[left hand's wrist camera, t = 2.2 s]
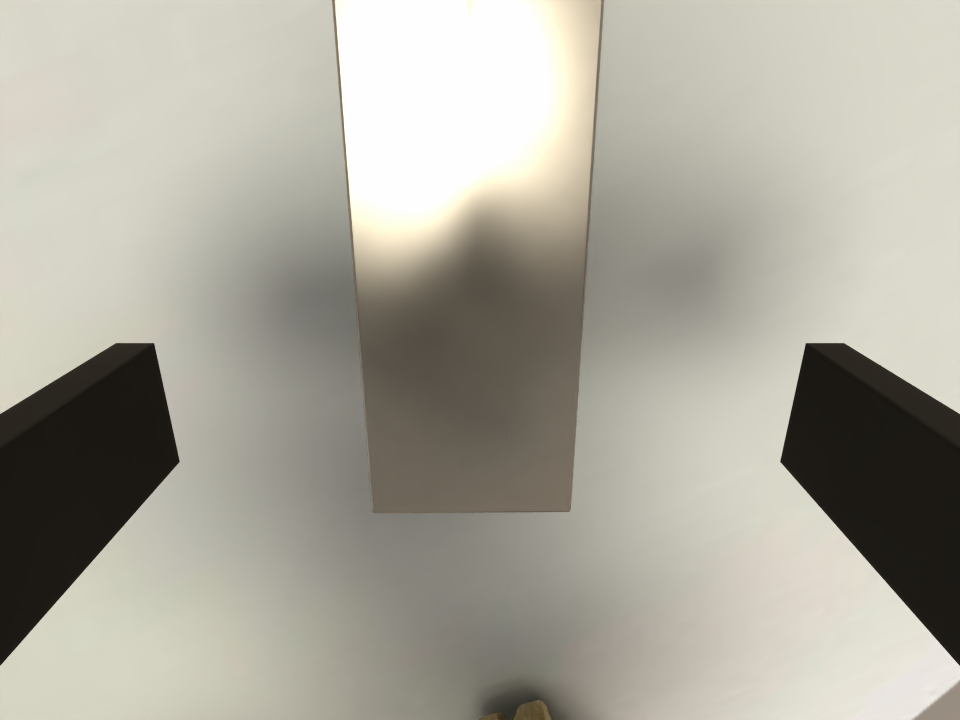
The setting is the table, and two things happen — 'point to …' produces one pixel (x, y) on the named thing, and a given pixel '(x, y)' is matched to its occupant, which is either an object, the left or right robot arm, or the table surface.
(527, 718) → the sculpture
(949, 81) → the table surface
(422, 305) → the bar
